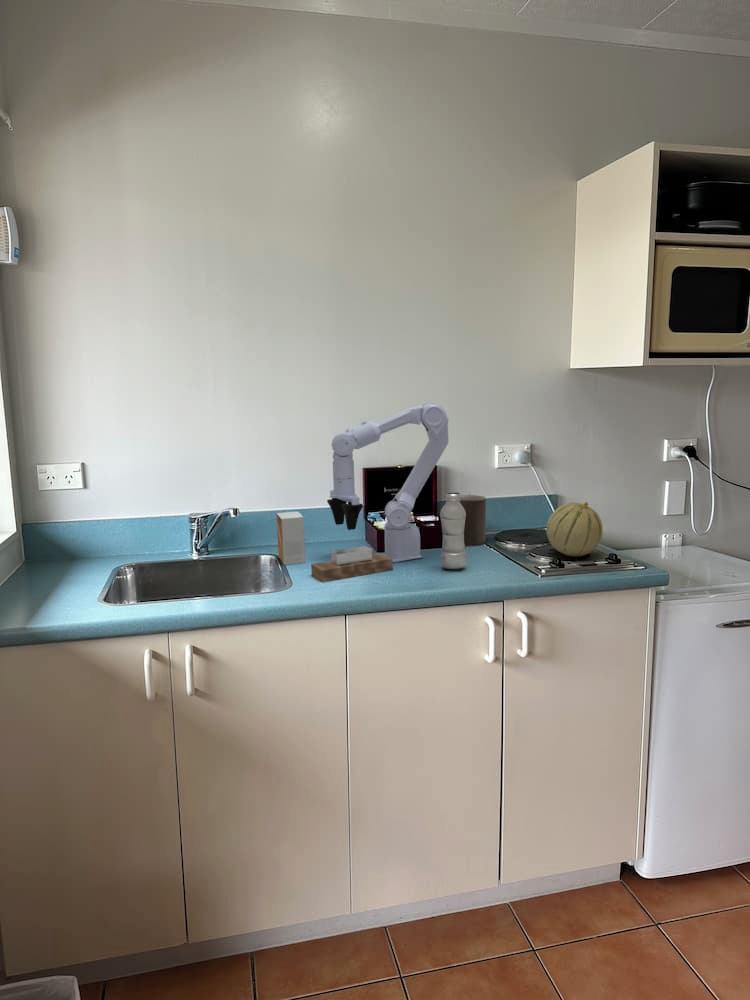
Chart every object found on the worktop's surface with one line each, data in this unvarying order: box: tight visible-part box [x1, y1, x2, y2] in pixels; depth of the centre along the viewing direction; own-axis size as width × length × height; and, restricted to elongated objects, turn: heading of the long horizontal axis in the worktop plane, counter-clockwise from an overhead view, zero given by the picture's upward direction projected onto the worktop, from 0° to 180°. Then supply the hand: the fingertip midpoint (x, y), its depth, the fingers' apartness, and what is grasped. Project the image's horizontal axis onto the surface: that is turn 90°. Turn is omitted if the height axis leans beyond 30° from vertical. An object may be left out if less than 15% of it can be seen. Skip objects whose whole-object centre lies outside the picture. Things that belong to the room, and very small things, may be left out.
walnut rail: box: [310, 552, 394, 583], centre depth 182 cm, size 20×7×3 cm, turn 118°
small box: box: [276, 511, 307, 566], centre depth 194 cm, size 8×6×13 cm
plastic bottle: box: [439, 491, 467, 570], centre depth 182 cm, size 6×7×20 cm
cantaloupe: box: [545, 502, 603, 557], centre depth 192 cm, size 15×15×15 cm
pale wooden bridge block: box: [330, 545, 373, 566], centre depth 182 cm, size 10×4×6 cm, turn 118°
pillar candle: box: [460, 492, 487, 547], centre depth 210 cm, size 10×10×15 cm
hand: (345, 526), depth 193 cm, fingers open, 7 cm apart
